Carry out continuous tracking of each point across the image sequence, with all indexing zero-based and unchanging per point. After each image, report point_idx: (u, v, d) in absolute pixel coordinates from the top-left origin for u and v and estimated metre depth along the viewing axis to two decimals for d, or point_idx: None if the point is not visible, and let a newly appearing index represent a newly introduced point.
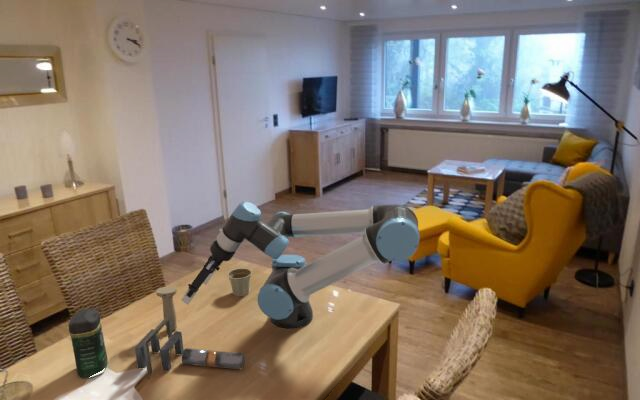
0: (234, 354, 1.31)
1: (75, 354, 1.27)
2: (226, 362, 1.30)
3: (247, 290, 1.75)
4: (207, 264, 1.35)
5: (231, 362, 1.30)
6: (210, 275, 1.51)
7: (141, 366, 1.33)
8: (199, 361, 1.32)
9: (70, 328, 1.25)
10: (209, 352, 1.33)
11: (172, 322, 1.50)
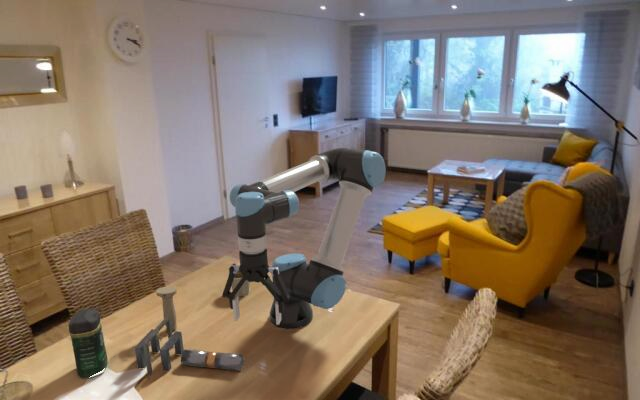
0: (233, 357, 1.30)
1: (75, 354, 1.27)
2: (225, 365, 1.30)
3: (247, 290, 1.75)
4: (277, 270, 1.20)
5: (230, 365, 1.29)
6: (238, 304, 1.27)
7: (141, 366, 1.33)
8: (198, 364, 1.31)
9: (70, 328, 1.25)
10: (208, 355, 1.32)
11: (172, 322, 1.50)
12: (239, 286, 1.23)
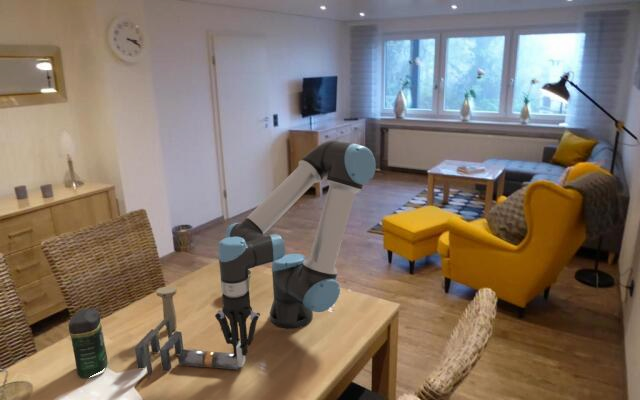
0: (231, 355, 1.31)
1: (75, 354, 1.27)
2: (223, 363, 1.30)
3: None
4: (257, 319, 1.26)
5: (228, 363, 1.30)
6: None
7: (141, 366, 1.33)
8: (196, 362, 1.31)
9: (70, 328, 1.25)
10: (205, 353, 1.32)
11: (172, 322, 1.50)
12: (233, 330, 1.28)
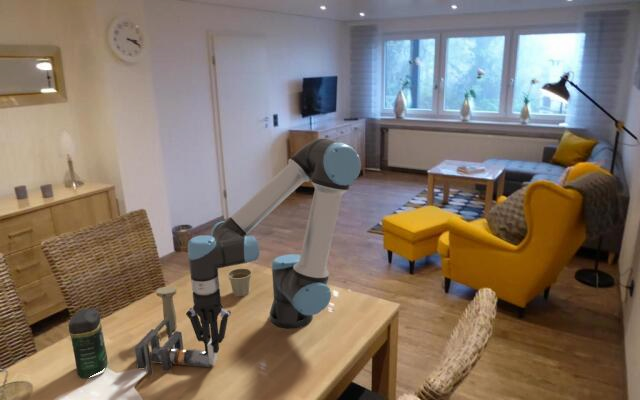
0: (202, 353, 1.32)
1: (75, 354, 1.27)
2: (194, 361, 1.32)
3: (247, 290, 1.75)
4: (228, 316, 1.27)
5: (199, 361, 1.31)
6: None
7: (141, 366, 1.33)
8: None
9: (70, 328, 1.25)
10: (178, 351, 1.34)
11: (172, 322, 1.50)
12: (204, 327, 1.29)
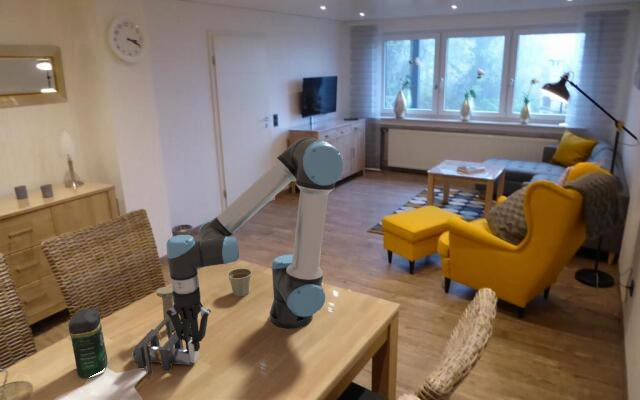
0: (183, 351, 1.34)
1: (75, 354, 1.27)
2: (175, 359, 1.33)
3: (247, 290, 1.75)
4: (207, 315, 1.28)
5: (180, 359, 1.32)
6: None
7: (141, 366, 1.33)
8: None
9: (70, 328, 1.25)
10: (159, 349, 1.35)
11: None
12: (184, 326, 1.30)
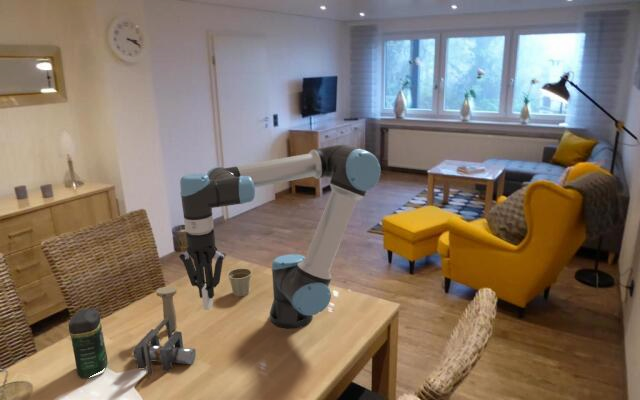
0: (185, 349, 1.34)
1: (75, 354, 1.27)
2: (176, 357, 1.33)
3: (247, 290, 1.75)
4: (222, 259, 1.22)
5: (181, 357, 1.33)
6: None
7: (141, 366, 1.33)
8: (150, 356, 1.34)
9: (70, 328, 1.25)
10: (161, 347, 1.35)
11: (172, 322, 1.50)
12: (198, 271, 1.24)
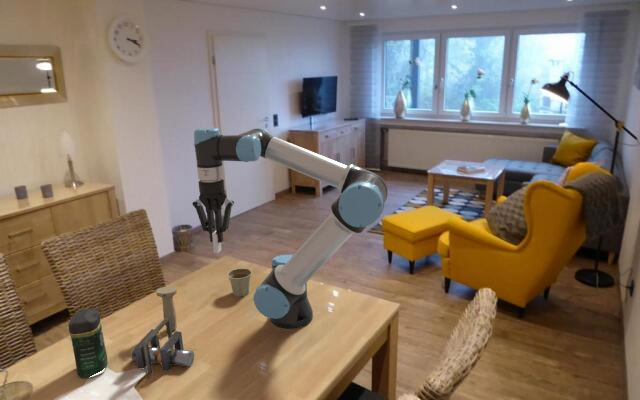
0: (182, 354, 1.32)
1: (75, 354, 1.27)
2: (174, 362, 1.32)
3: (247, 290, 1.75)
4: (231, 205, 1.36)
5: (180, 362, 1.32)
6: None
7: (141, 366, 1.33)
8: None
9: (70, 328, 1.25)
10: (157, 352, 1.34)
11: (172, 322, 1.50)
12: (209, 217, 1.38)
